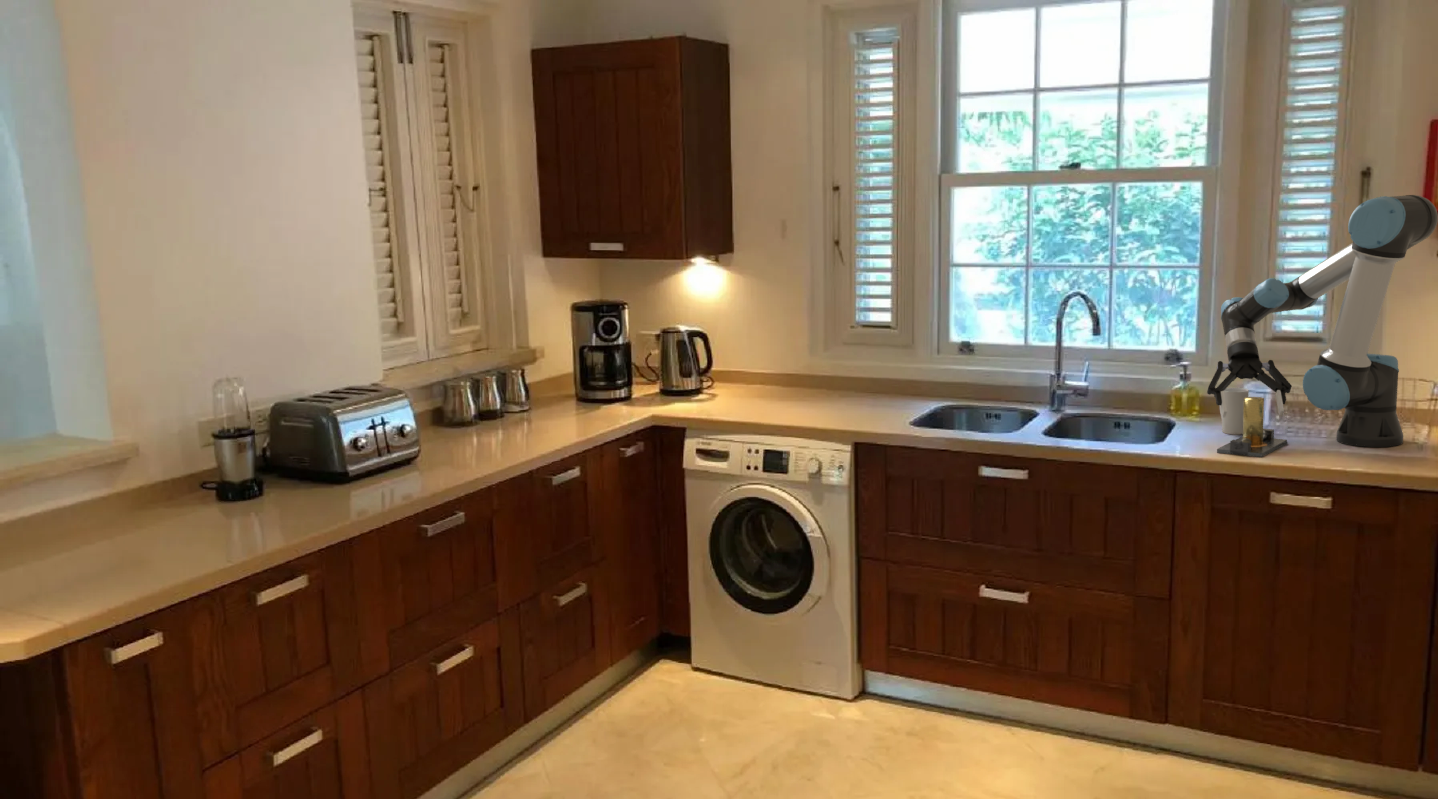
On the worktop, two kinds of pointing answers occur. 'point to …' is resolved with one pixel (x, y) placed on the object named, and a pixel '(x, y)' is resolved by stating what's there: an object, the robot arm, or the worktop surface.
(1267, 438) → the shaft bench
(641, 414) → the worktop surface
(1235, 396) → the mug
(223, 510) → the worktop surface
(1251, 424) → the sleeve
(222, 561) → the worktop surface
